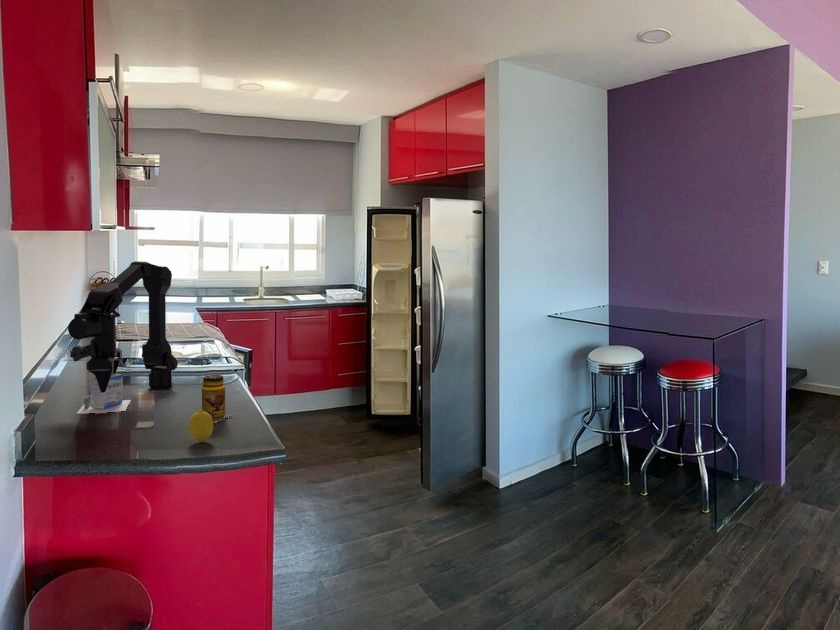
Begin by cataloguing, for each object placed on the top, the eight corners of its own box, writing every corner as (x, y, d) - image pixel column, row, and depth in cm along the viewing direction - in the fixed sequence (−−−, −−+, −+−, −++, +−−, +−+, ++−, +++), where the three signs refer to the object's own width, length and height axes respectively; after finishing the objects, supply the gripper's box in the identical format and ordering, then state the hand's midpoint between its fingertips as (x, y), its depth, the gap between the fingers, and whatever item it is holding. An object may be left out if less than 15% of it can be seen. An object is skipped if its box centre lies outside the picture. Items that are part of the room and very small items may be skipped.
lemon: (192, 438, 148) (192, 406, 147) (215, 438, 149) (215, 407, 148) (186, 446, 143) (185, 413, 142) (210, 446, 143) (209, 413, 142)
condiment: (216, 424, 160) (215, 380, 159) (189, 420, 163) (189, 377, 162) (232, 417, 167) (232, 374, 166) (206, 413, 170) (206, 371, 168)
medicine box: (103, 410, 168) (104, 379, 167) (89, 407, 169) (90, 377, 168) (122, 403, 176) (123, 374, 175) (109, 401, 177) (109, 372, 176)
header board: (131, 401, 180) (130, 390, 180) (125, 411, 169) (124, 400, 168) (86, 403, 176) (85, 391, 176) (76, 414, 165) (76, 402, 165)
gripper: (79, 330, 176) (81, 382, 178) (63, 340, 159) (66, 398, 161) (121, 329, 180) (123, 380, 182) (110, 339, 162) (112, 395, 164)
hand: (106, 388), depth 172 cm, fingers open, 9 cm apart
